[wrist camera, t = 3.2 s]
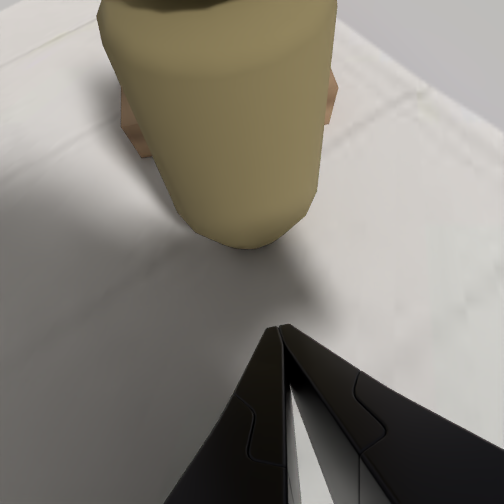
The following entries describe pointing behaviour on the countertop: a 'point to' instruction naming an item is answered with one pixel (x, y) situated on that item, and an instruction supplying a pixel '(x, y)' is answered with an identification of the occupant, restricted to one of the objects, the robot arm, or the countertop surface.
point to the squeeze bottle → (228, 105)
